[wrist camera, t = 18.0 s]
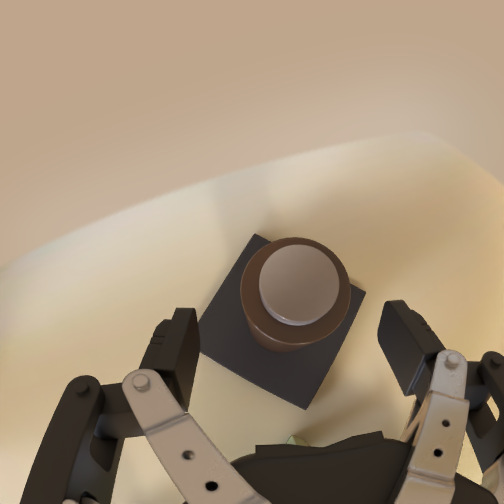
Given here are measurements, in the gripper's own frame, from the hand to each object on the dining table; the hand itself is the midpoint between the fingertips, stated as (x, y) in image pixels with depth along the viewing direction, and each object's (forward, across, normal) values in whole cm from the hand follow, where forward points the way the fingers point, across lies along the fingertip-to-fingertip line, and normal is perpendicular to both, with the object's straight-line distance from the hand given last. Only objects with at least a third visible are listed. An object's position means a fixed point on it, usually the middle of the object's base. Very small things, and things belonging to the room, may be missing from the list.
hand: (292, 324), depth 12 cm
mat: (+8, 0, +6) cm, 10 cm away
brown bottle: (+7, 0, +5) cm, 9 cm away
